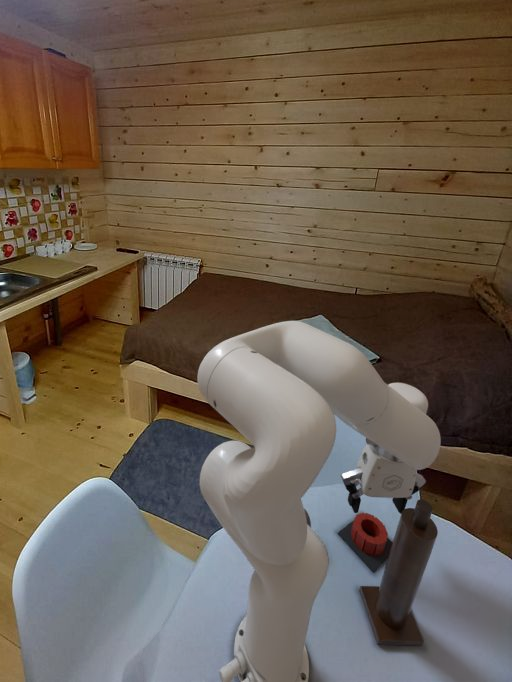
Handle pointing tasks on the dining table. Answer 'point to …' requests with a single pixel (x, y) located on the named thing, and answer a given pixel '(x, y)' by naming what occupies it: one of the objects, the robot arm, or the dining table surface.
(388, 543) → the felt mat
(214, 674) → the dining table surface
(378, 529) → the ring
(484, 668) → the dining table surface
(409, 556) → the ring holder
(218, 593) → the dining table surface
